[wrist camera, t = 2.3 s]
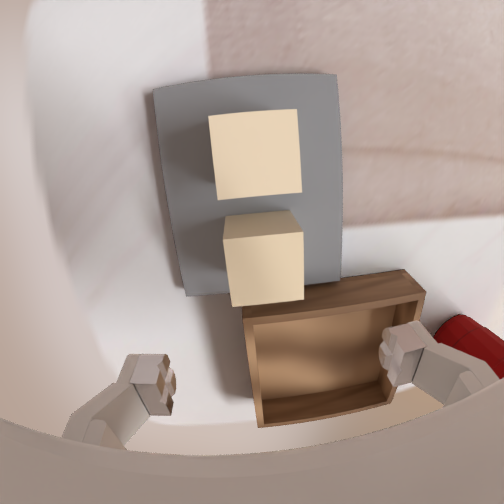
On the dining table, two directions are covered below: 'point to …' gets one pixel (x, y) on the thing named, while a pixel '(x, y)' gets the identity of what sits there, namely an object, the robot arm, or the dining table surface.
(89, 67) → the dining table surface
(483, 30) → the dining table surface
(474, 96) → the dining table surface
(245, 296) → the beige block
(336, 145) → the slate board
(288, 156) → the cream wooden cube
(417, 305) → the walnut bin
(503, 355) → the plastic cup
